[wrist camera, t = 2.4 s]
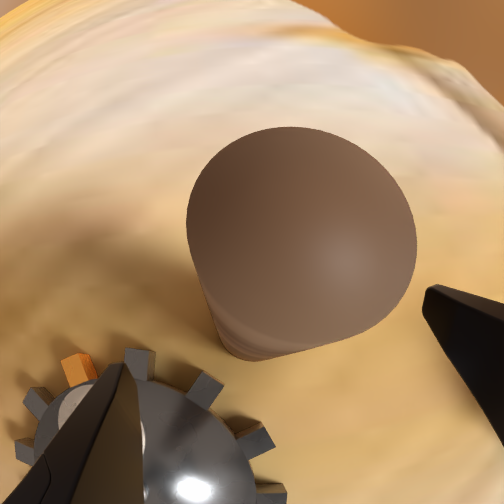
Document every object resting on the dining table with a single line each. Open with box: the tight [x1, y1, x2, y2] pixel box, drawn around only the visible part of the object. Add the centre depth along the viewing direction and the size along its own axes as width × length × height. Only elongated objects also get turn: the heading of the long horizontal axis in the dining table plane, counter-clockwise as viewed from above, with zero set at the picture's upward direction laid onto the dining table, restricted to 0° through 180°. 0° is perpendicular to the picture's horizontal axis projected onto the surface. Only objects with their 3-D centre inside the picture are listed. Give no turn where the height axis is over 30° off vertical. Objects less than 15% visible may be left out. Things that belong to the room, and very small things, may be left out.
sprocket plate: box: [15, 348, 287, 504], centre depth 12 cm, size 16×16×2 cm
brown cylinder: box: [186, 127, 417, 362], centre depth 11 cm, size 4×4×13 cm
